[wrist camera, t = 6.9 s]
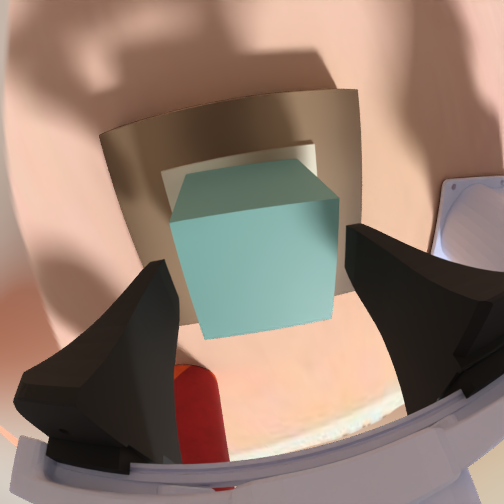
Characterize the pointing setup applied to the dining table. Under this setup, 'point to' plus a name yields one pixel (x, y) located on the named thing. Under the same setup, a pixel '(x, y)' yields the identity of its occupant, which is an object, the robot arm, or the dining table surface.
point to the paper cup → (199, 417)
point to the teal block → (257, 246)
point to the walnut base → (233, 162)
